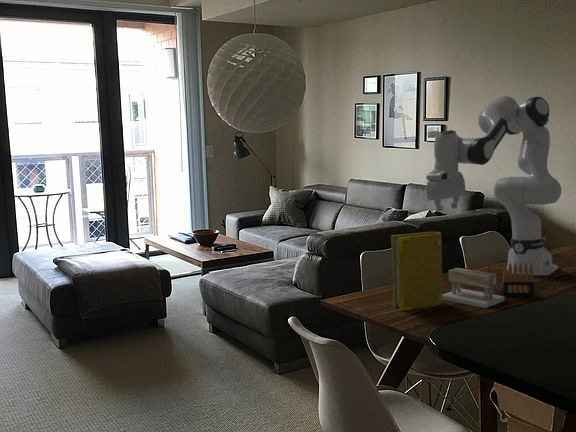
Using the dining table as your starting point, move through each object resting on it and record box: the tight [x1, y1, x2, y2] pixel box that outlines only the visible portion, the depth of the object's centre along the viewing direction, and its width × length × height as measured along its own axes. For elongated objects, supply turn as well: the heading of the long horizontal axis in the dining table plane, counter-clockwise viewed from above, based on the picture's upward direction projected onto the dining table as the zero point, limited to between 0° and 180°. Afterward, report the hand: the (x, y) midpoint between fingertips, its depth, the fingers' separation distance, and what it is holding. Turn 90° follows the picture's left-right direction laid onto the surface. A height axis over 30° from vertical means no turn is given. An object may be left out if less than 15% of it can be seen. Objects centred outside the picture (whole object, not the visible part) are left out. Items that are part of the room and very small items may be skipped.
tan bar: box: [448, 267, 497, 289], centre depth 227 cm, size 5×16×4 cm, turn 41°
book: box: [390, 231, 443, 312], centre depth 223 cm, size 17×7×25 cm, turn 106°
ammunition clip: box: [501, 262, 535, 297], centre depth 230 cm, size 11×2×12 cm, turn 76°
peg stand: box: [442, 282, 506, 309], centre depth 227 cm, size 12×18×6 cm, turn 41°
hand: (447, 209), depth 248 cm, fingers open, 8 cm apart
